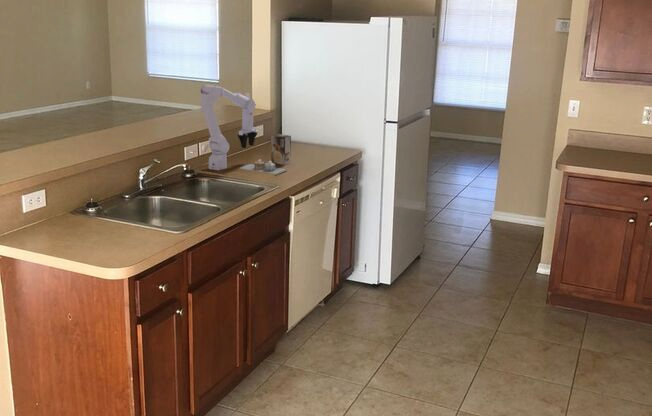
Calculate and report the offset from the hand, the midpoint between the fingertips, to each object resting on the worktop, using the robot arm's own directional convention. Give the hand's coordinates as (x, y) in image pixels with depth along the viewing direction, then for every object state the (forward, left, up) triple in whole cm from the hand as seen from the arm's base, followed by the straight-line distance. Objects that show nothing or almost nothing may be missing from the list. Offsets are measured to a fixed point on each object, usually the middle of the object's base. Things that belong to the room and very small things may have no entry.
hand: (247, 146), depth 360 cm
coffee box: (+10, -15, -10) cm, 21 cm away
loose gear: (-8, -12, -9) cm, 17 cm away
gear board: (-8, -14, -10) cm, 19 cm away
